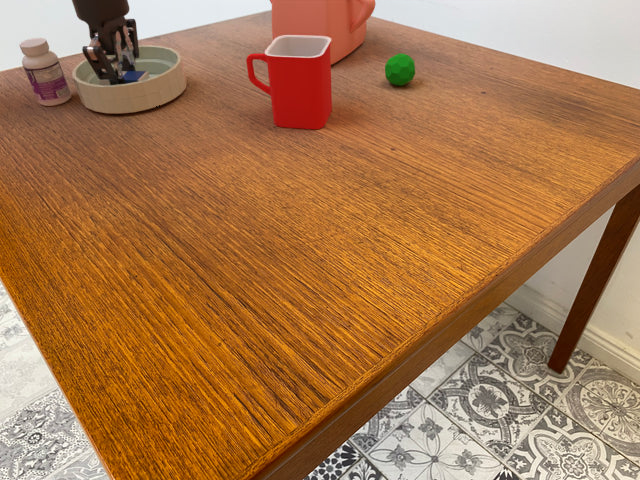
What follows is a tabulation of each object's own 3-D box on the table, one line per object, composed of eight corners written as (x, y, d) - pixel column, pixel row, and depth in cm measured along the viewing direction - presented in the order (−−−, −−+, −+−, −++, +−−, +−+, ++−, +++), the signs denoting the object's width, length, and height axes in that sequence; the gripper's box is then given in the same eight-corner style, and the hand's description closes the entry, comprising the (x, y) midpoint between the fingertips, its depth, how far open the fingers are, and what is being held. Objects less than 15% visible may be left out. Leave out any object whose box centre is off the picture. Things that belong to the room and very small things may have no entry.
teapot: (354, 74, 89) (354, -13, 80) (251, 55, 98) (240, -25, 89) (400, 37, 102) (405, -42, 93) (305, 23, 111) (301, -50, 102)
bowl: (63, 115, 82) (51, 85, 79) (110, 72, 95) (101, 45, 92) (166, 118, 80) (158, 87, 77) (200, 73, 93) (194, 45, 90)
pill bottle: (37, 97, 88) (13, 40, 82) (70, 90, 90) (48, 33, 83) (40, 110, 84) (15, 50, 78) (74, 102, 86) (52, 43, 80)
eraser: (104, 100, 84) (97, 79, 82) (114, 91, 87) (107, 70, 85) (145, 101, 83) (139, 80, 81) (153, 92, 86) (148, 70, 84)
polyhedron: (379, 87, 85) (380, 58, 82) (390, 76, 88) (391, 48, 85) (409, 92, 83) (411, 62, 80) (418, 80, 86) (420, 51, 83)
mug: (335, 105, 80) (333, 36, 74) (324, 131, 74) (320, 58, 67) (262, 101, 83) (253, 33, 76) (245, 125, 77) (234, 54, 70)
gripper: (92, -31, 80) (125, 76, 91) (43, -5, 69) (86, 114, 80) (138, -32, 79) (165, 77, 90) (95, -5, 68) (132, 115, 79)
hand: (128, 94), depth 85 cm, fingers closed on eraser, 3 cm apart
